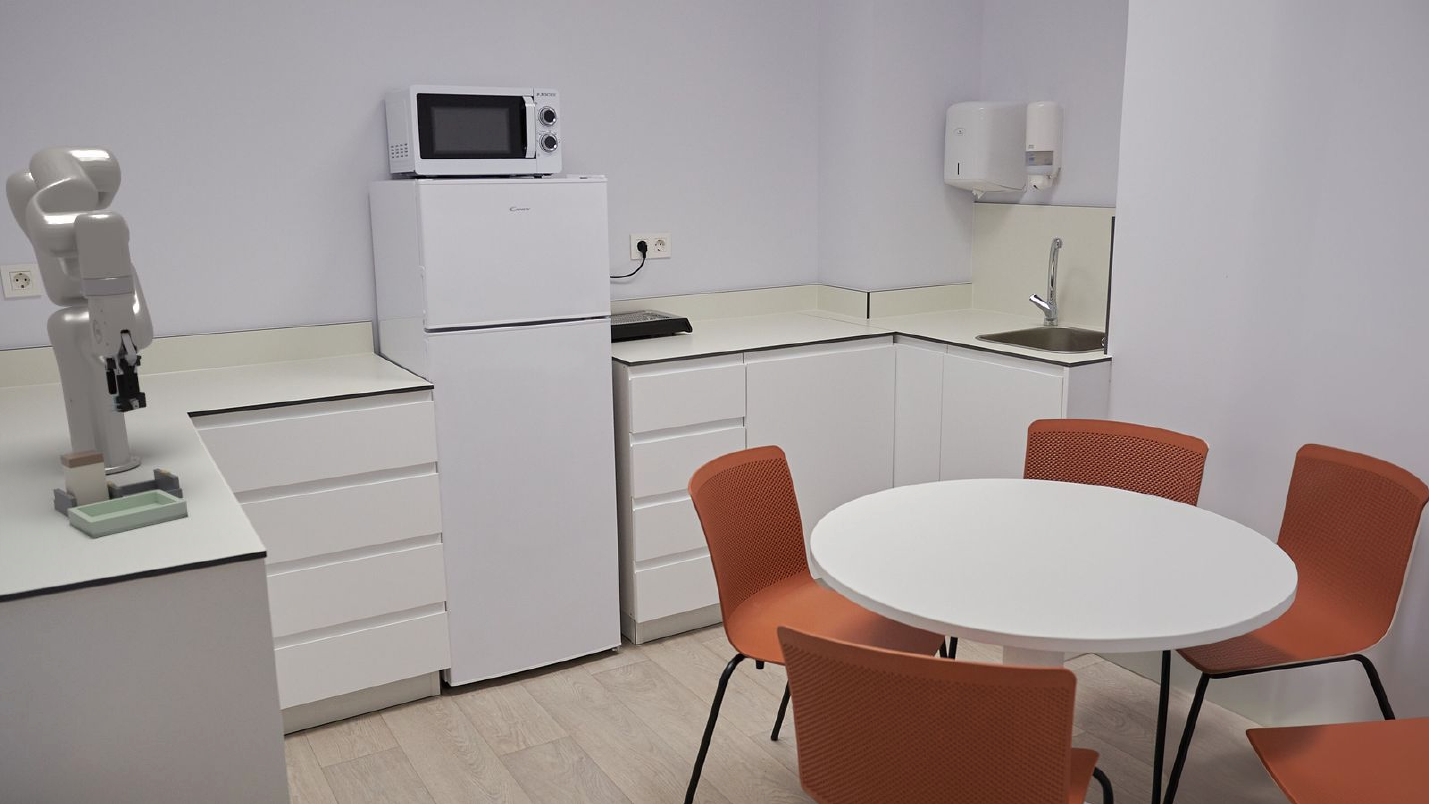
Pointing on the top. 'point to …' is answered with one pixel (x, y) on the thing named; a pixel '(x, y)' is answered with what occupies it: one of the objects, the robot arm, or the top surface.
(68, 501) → the holder
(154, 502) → the tray
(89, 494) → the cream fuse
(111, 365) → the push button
